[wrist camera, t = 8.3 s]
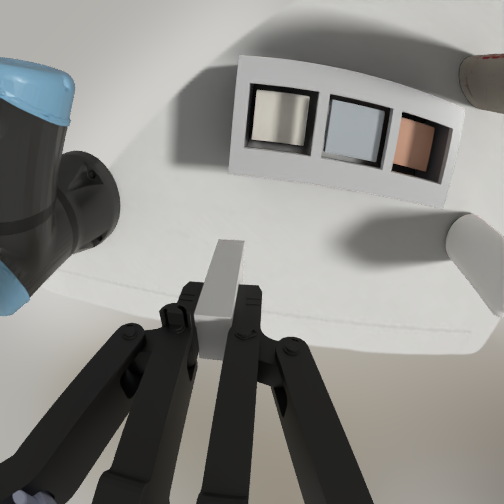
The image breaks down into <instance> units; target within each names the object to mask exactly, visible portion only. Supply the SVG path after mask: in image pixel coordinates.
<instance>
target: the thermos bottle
mask: <svg viewBox="0 0 504 504" xmlns="http://www.w3.org/2000/svg"><path fill="white" fill-rule="evenodd" d="M459 80H460V85H461V88H462V91H463V93H464V95H465V97H466V98H467V99H468V101H469V102H470V103H471V104H472V105H473V106H475V107H476V108H479V109H482V110H487V111H492V112H497V113H502V114H504V54H489V55H476V56H470V57H467V58H466V59H465V60H464V61H463V62H462V64H461V66H460V70H459Z"/></svg>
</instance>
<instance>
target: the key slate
mask: <svg viewBox="0 0 504 504" xmlns="http://www.w3.org/2000/svg"><path fill="white" fill-rule="evenodd" d="M384 114H385V111H381V110H377V109H373V108H369V107H365V106H361V105H356V104H352V103H347V102H342V101H338V100H331V101H330V108H329V116H328V123H327V130H326V136H325V143H324V149H323V151H324V152H325V153H331V154H337V155H342V156H348V157H353V158H358V159H363V160H368V161H372V162H376V160H377V154H378V149H379V144H380V138H381V133H382V127H383V121H384Z"/></svg>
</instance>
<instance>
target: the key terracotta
mask: <svg viewBox="0 0 504 504" xmlns="http://www.w3.org/2000/svg"><path fill="white" fill-rule="evenodd" d="M434 130H435V128H434V127H431V126H428V125H425V124H422V123H419V122H416V121H413V120H410V119H406V118H403V117H401V123H400V129H399V135H398V140H397V145H396V151H395V156H394V160H393V163H394V164H398V165H402V166H406V167H410V168H414V169H418V170H421V171H425V172H426V169H427V165H428V160H429V156H430V151H431V146H432V141H433V136H434Z"/></svg>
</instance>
